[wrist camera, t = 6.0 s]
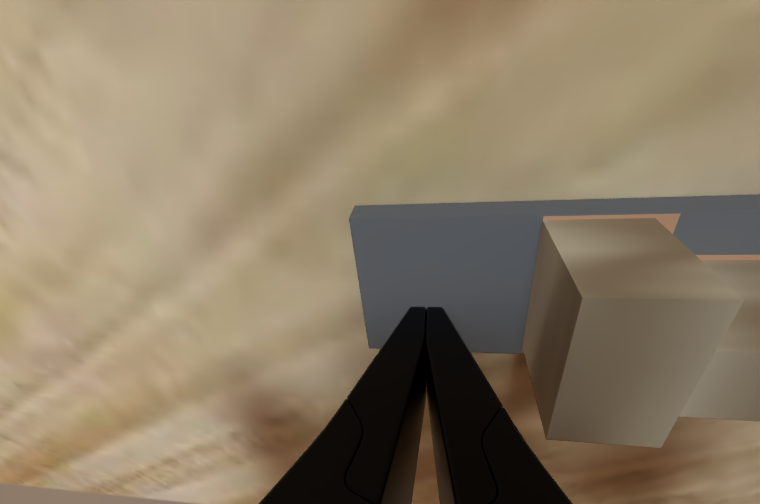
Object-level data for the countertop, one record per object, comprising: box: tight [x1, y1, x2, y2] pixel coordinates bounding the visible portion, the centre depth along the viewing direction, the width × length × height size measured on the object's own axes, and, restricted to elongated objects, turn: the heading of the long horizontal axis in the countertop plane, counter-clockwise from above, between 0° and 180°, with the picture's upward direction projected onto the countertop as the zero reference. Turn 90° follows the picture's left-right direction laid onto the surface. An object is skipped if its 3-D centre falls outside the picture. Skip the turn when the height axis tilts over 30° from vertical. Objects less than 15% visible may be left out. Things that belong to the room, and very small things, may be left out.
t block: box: [522, 218, 760, 448], centre depth 8 cm, size 7×4×3 cm, turn 95°
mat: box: [349, 195, 760, 354], centre depth 10 cm, size 13×5×1 cm, turn 95°
